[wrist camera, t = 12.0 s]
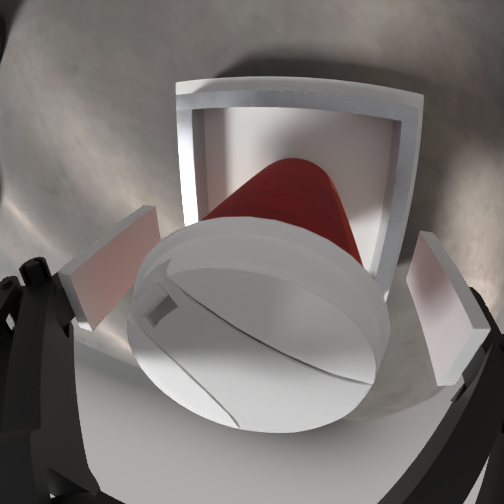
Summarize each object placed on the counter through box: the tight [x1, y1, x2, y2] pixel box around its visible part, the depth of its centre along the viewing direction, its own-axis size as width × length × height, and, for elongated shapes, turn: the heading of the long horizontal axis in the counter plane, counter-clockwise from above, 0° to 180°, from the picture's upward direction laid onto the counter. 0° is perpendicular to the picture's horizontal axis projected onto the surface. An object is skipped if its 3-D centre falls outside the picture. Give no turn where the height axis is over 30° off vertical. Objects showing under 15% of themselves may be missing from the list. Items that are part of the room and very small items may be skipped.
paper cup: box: [127, 158, 390, 433], centre depth 13 cm, size 8×8×14 cm
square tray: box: [176, 76, 424, 302], centre depth 20 cm, size 16×16×7 cm
